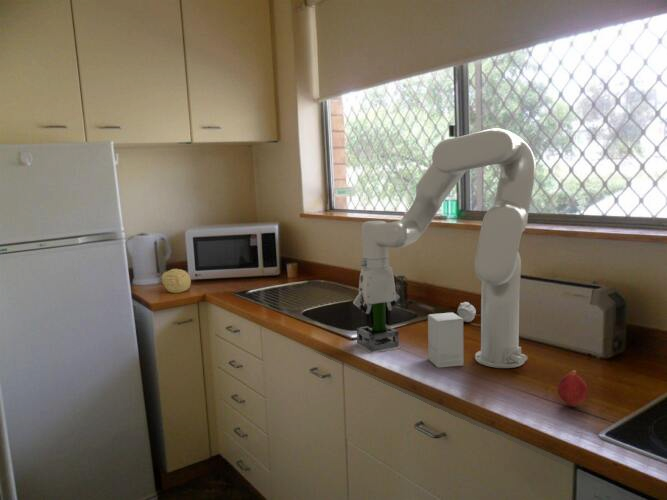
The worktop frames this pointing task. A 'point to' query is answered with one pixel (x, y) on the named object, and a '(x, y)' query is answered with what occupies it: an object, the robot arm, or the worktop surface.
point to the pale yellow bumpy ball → (176, 280)
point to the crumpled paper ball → (466, 311)
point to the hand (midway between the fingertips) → (377, 323)
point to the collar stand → (377, 340)
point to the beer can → (378, 318)
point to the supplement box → (445, 339)
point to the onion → (572, 389)
